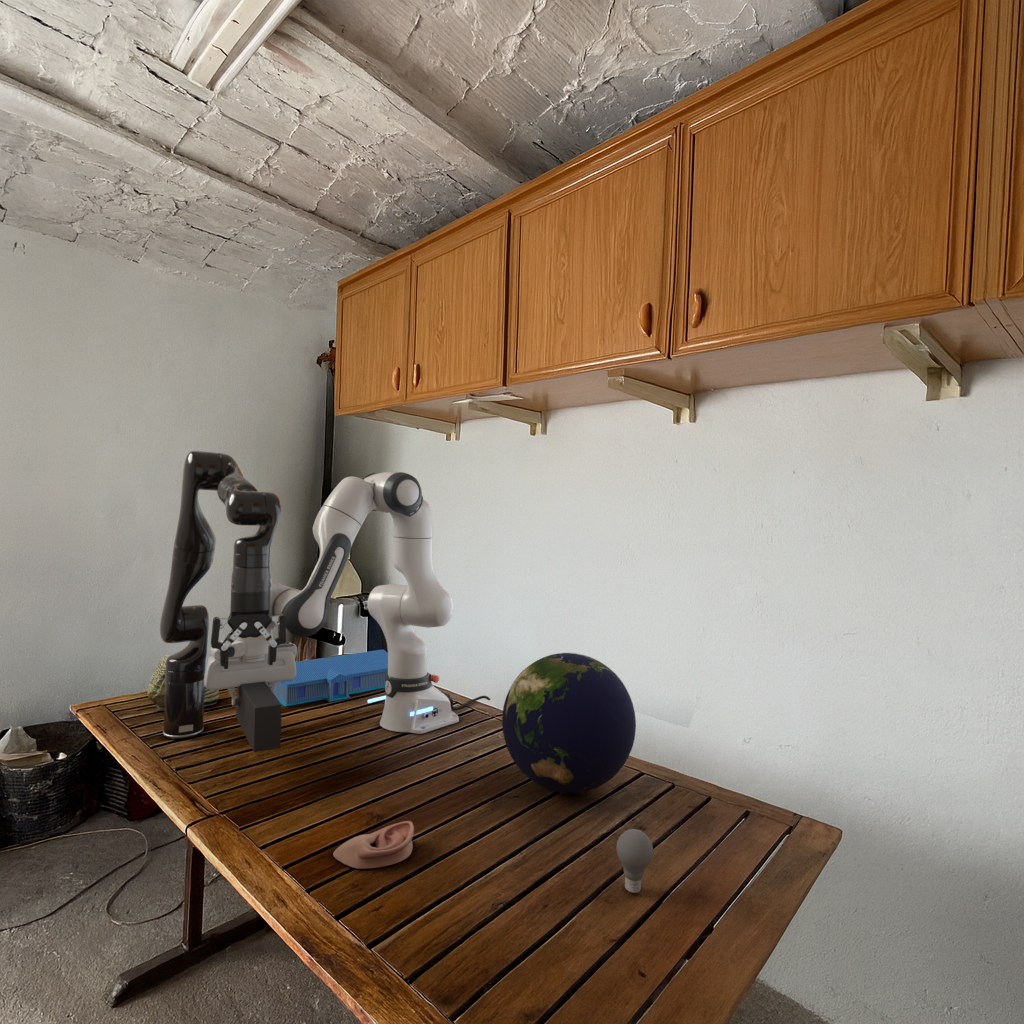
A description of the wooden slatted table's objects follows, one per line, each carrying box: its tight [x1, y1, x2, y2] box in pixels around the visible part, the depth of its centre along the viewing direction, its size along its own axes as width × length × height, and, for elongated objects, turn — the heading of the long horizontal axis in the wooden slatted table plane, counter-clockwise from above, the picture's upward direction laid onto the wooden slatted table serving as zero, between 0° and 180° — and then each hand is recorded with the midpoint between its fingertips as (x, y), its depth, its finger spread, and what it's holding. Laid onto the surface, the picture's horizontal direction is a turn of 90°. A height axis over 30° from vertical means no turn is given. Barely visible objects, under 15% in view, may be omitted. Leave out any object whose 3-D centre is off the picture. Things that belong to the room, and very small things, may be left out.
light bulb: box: [615, 828, 654, 894], centre depth 106 cm, size 6×6×10 cm
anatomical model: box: [332, 820, 415, 870], centre depth 114 cm, size 13×4×12 cm
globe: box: [501, 652, 637, 794], centre depth 143 cm, size 30×30×30 cm
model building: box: [266, 649, 388, 707], centre depth 208 cm, size 39×24×10 cm, turn 132°
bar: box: [235, 682, 283, 753], centre depth 143 cm, size 23×5×9 cm, turn 32°
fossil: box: [147, 654, 221, 712], centre depth 185 cm, size 9×18×15 cm, turn 132°
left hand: (248, 666), depth 131 cm, fingers open, 8 cm apart
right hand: (250, 702), depth 150 cm, fingers closed on bar, 5 cm apart
